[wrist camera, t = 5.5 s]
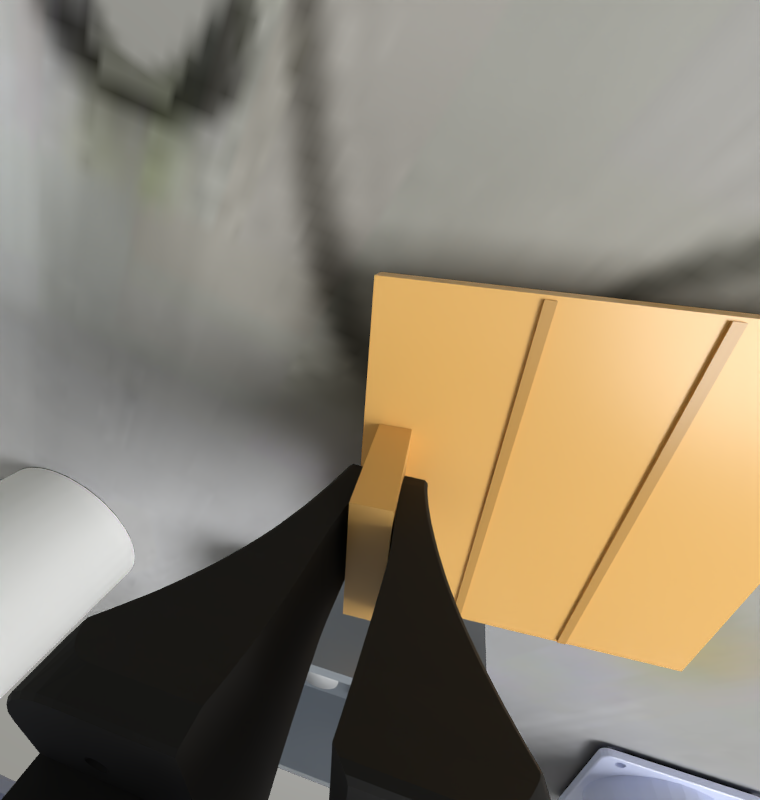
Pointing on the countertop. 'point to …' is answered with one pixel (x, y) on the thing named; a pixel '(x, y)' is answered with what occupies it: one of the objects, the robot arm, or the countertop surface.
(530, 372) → the lid
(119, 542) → the cylinder container
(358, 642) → the tub
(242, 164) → the countertop surface
